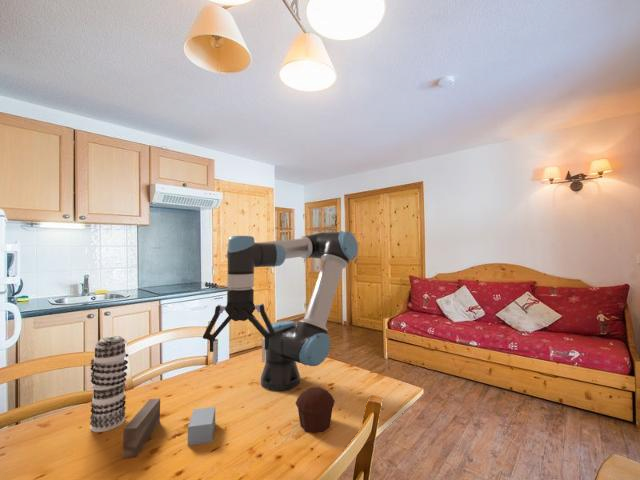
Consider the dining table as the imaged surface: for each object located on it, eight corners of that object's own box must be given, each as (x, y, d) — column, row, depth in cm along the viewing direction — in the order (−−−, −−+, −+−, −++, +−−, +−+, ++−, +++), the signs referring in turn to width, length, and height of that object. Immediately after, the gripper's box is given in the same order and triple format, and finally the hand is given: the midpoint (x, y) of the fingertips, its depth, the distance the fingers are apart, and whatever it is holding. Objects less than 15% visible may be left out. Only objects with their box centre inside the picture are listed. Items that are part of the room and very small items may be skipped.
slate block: (215, 423, 88) (215, 406, 88) (211, 442, 79) (211, 423, 79) (193, 426, 87) (193, 409, 87) (187, 446, 78) (187, 426, 78)
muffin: (321, 410, 95) (321, 378, 96) (342, 427, 86) (342, 392, 86) (288, 421, 89) (288, 387, 89) (307, 441, 79) (307, 403, 80)
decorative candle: (93, 418, 90) (96, 336, 91) (129, 412, 94) (131, 332, 95) (83, 436, 82) (86, 344, 83) (123, 428, 85) (125, 340, 86)
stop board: (159, 422, 88) (160, 398, 89) (135, 456, 74) (136, 428, 74) (149, 423, 88) (149, 399, 88) (122, 457, 73) (123, 428, 73)
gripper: (283, 286, 92) (282, 355, 91) (199, 287, 89) (198, 359, 88) (283, 289, 85) (283, 364, 84) (192, 290, 81) (190, 369, 80)
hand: (239, 361), depth 86 cm, fingers open, 13 cm apart
